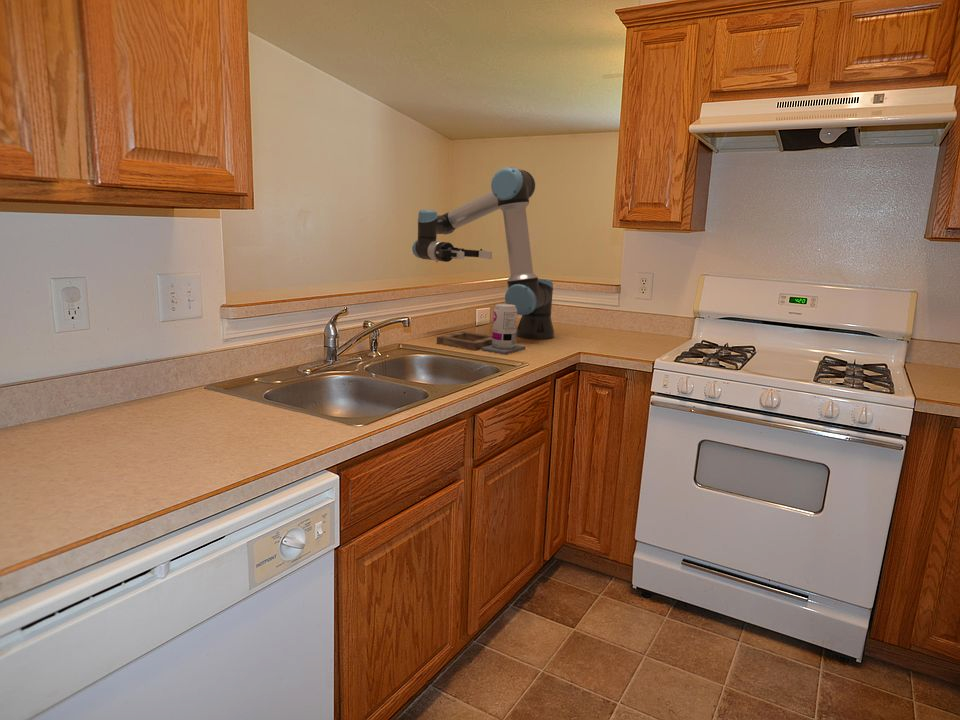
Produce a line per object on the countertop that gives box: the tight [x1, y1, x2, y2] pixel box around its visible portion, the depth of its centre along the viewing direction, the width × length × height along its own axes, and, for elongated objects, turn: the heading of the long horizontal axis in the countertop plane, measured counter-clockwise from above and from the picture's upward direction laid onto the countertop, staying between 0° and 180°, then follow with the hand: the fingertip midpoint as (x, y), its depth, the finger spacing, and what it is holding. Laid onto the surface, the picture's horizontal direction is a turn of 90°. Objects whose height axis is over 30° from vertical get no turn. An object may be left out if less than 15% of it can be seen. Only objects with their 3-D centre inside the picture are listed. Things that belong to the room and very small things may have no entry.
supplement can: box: [491, 303, 518, 349], centre depth 223 cm, size 8×8×15 cm
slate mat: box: [480, 344, 526, 356], centre depth 225 cm, size 14×10×1 cm
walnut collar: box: [436, 330, 492, 351], centre depth 233 cm, size 17×17×2 cm
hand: (477, 255), depth 232 cm, fingers open, 13 cm apart
